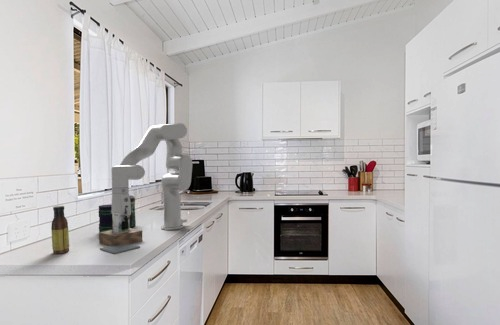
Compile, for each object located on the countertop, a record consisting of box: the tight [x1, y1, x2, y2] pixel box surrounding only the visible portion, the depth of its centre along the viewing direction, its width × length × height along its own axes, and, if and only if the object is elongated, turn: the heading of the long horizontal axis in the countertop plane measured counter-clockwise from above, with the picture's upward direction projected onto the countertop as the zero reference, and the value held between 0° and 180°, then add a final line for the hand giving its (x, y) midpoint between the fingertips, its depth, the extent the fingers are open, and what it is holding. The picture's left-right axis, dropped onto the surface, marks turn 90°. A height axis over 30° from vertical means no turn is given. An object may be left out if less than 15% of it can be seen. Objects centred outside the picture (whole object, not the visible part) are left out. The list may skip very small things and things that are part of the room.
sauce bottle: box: [51, 205, 70, 255], centre depth 137 cm, size 7×6×20 cm
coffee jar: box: [129, 195, 137, 228], centre depth 189 cm, size 10×8×19 cm
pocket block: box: [98, 227, 143, 246], centre depth 154 cm, size 14×14×5 cm
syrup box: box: [112, 212, 129, 234], centre depth 154 cm, size 6×6×14 cm
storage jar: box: [98, 203, 113, 233], centre depth 174 cm, size 10×10×15 cm
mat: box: [99, 243, 141, 255], centre depth 141 cm, size 12×12×1 cm
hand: (120, 228), depth 154 cm, fingers open, 6 cm apart
